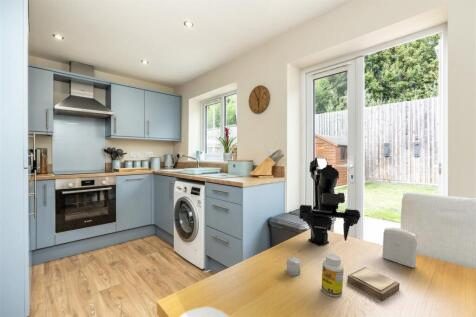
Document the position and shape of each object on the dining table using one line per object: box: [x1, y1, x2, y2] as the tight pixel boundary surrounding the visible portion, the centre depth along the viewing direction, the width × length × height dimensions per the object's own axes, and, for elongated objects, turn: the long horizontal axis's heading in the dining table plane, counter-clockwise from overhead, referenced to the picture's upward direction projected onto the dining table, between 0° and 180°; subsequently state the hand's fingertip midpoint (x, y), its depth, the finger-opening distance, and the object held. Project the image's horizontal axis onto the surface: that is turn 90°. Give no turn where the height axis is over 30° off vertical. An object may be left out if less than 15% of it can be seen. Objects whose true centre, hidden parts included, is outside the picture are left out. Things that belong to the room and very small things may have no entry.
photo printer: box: [382, 226, 418, 269], centre depth 82 cm, size 10×4×12 cm, turn 39°
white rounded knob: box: [286, 257, 302, 277], centre depth 73 cm, size 4×4×4 cm
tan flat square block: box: [346, 266, 400, 302], centre depth 67 cm, size 10×10×2 cm
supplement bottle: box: [321, 253, 345, 298], centre depth 63 cm, size 6×6×10 cm
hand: (329, 238), depth 70 cm, fingers open, 9 cm apart
